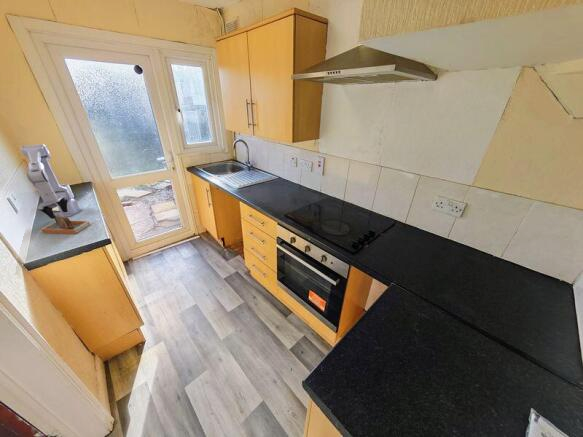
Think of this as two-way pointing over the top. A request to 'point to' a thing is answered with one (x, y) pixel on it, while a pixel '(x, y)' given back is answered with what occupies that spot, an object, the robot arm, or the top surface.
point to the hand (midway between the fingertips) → (59, 215)
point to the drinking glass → (68, 189)
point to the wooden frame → (82, 225)
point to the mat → (55, 209)
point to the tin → (63, 222)
